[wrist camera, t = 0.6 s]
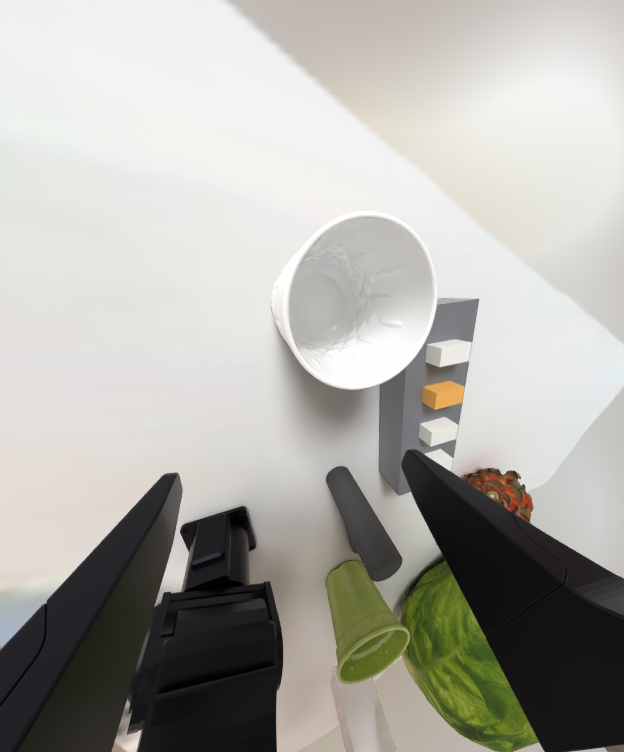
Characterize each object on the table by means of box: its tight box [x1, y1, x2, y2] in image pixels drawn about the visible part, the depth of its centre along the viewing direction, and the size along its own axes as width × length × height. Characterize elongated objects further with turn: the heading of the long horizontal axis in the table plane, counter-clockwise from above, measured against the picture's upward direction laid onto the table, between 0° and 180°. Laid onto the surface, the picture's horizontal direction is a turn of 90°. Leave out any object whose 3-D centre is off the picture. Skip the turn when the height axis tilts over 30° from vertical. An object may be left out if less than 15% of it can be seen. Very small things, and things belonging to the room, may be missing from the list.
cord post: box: [326, 466, 402, 581], centre depth 23 cm, size 3×3×10 cm
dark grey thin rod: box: [345, 524, 358, 553], centre depth 30 cm, size 11×1×1 cm, turn 14°
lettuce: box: [400, 561, 539, 752], centre depth 35 cm, size 18×23×19 cm
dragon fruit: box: [462, 468, 533, 524], centre depth 32 cm, size 8×8×12 cm
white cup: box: [270, 211, 438, 390], centre depth 15 cm, size 8×8×10 cm
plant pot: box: [326, 560, 410, 684], centre depth 30 cm, size 9×9×9 cm
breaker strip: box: [379, 298, 479, 496], centre depth 23 cm, size 20×7×6 cm, turn 6°
